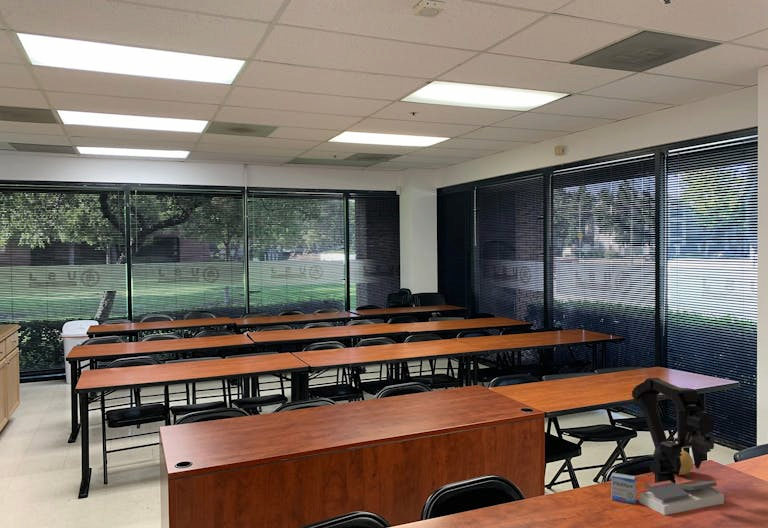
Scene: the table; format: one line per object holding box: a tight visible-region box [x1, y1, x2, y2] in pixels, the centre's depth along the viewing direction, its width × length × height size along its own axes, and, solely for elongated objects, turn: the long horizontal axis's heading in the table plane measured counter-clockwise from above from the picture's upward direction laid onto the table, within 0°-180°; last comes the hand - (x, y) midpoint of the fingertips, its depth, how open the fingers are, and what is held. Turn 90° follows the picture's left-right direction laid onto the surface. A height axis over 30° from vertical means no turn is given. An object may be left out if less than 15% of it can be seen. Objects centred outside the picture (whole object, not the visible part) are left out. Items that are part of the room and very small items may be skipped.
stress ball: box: [677, 449, 694, 476], centre depth 222 cm, size 10×10×10 cm
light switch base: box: [638, 486, 725, 516], centre depth 195 cm, size 11×27×4 cm, turn 110°
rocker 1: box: [644, 480, 689, 502], centre depth 192 cm, size 8×11×2 cm
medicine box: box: [610, 472, 637, 505], centre depth 197 cm, size 8×4×9 cm, turn 62°
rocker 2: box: [675, 480, 718, 490], centre depth 197 cm, size 8×11×2 cm
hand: (687, 469), depth 194 cm, fingers open, 9 cm apart
